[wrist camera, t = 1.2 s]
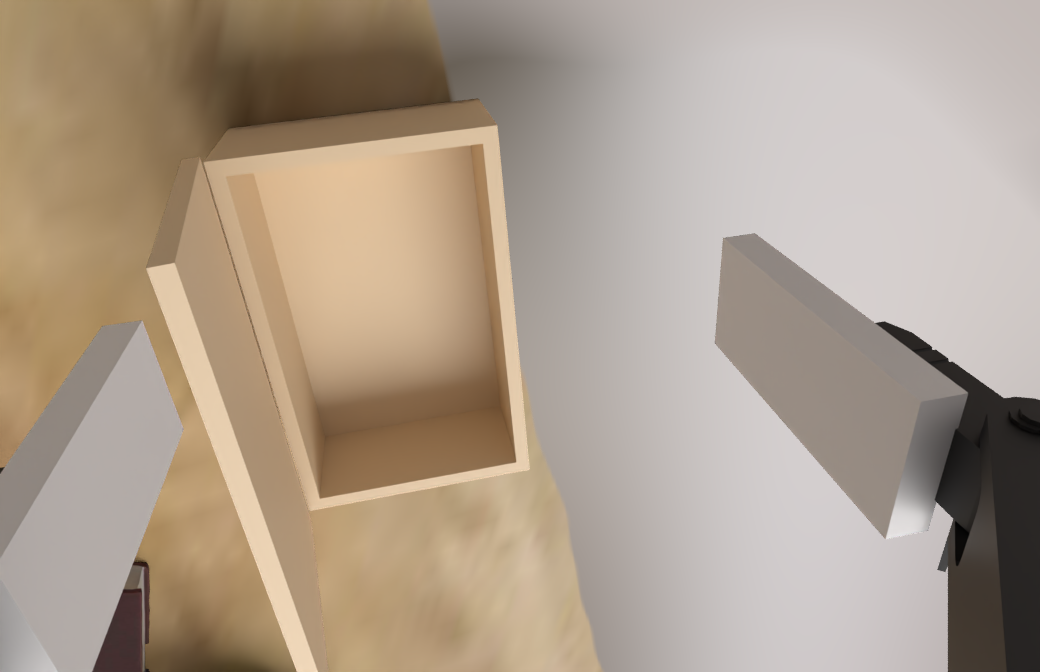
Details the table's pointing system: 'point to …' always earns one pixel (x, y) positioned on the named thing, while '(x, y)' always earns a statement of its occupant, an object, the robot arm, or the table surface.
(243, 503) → the lid
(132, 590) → the book
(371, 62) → the table surface
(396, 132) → the open box
